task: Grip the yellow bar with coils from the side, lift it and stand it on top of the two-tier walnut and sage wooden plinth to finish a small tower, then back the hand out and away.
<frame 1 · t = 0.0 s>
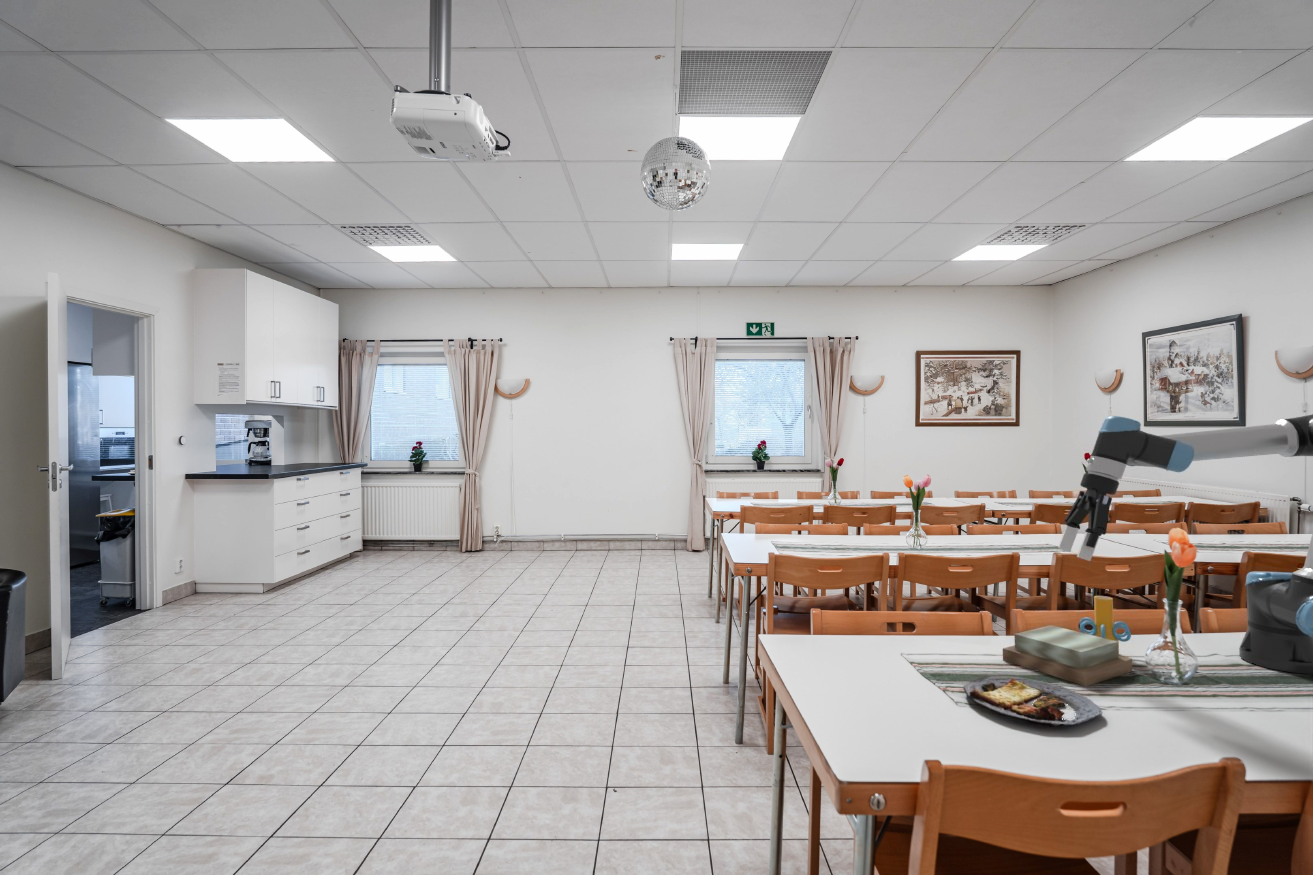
hand: (1073, 554, 153), 28 cm above the table, tool tilted 20°, fingers open, 13 cm apart
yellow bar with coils: (1104, 654, 160), on the table
food plate: (1028, 708, 128), on the table
plinth: (1065, 665, 152), on the table
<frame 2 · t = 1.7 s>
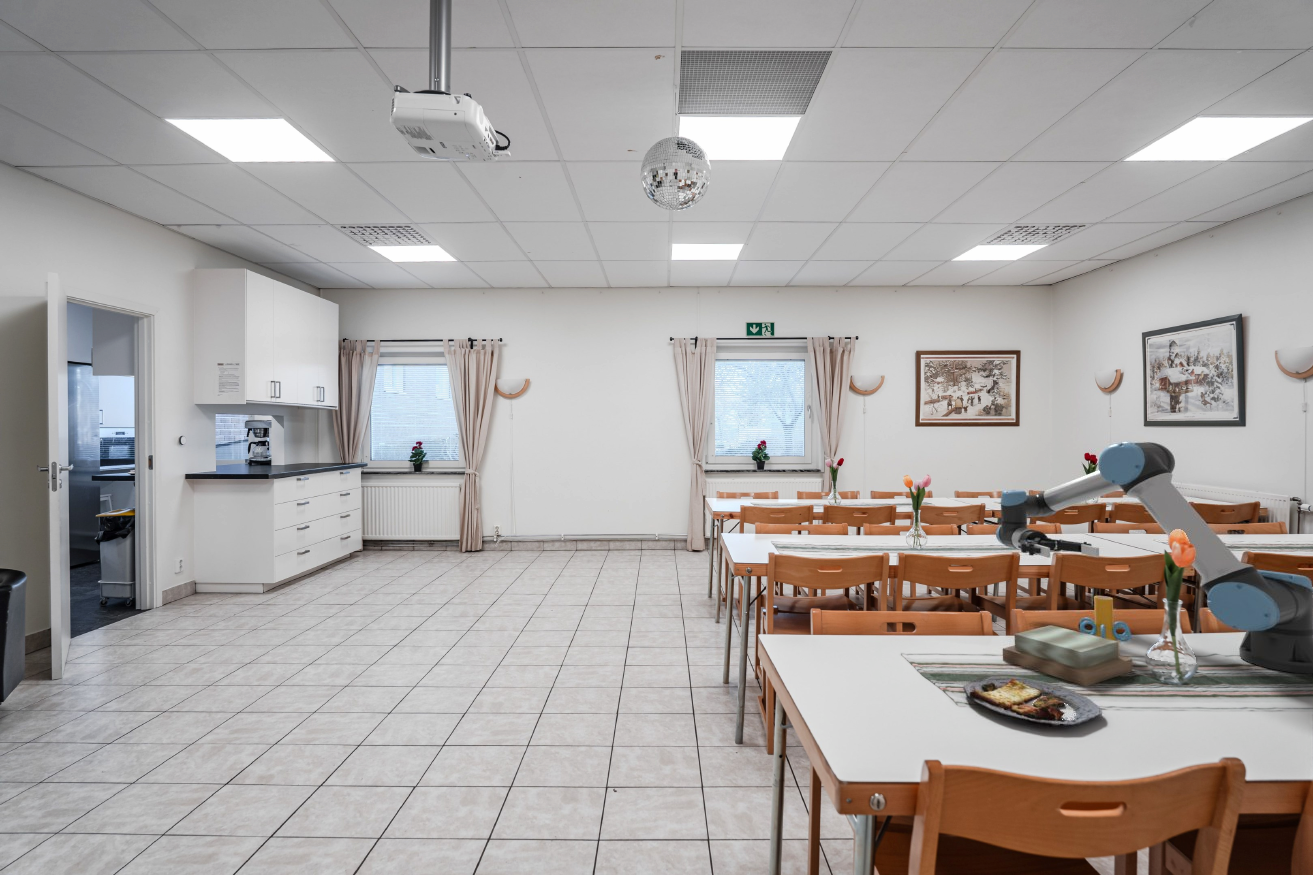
hand: (1073, 552, 171), 25 cm above the table, tool horizontal, fingers open, 13 cm apart
nothing on the table moved.
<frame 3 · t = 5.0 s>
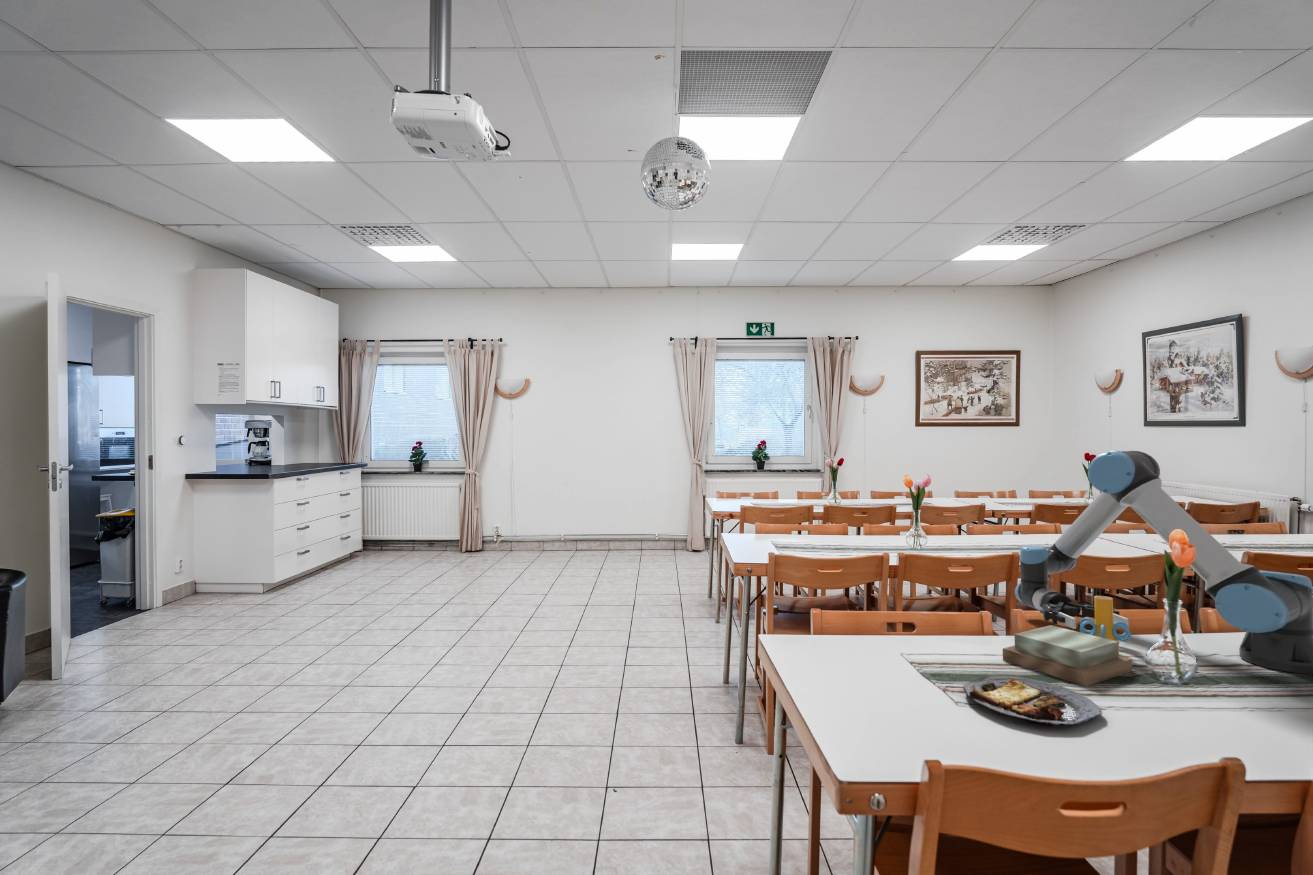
hand: (1100, 623, 160), 8 cm above the table, tool horizontal, fingers open, 13 cm apart
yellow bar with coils: (1104, 654, 160), on the table, touching gripper
everything else where it was.
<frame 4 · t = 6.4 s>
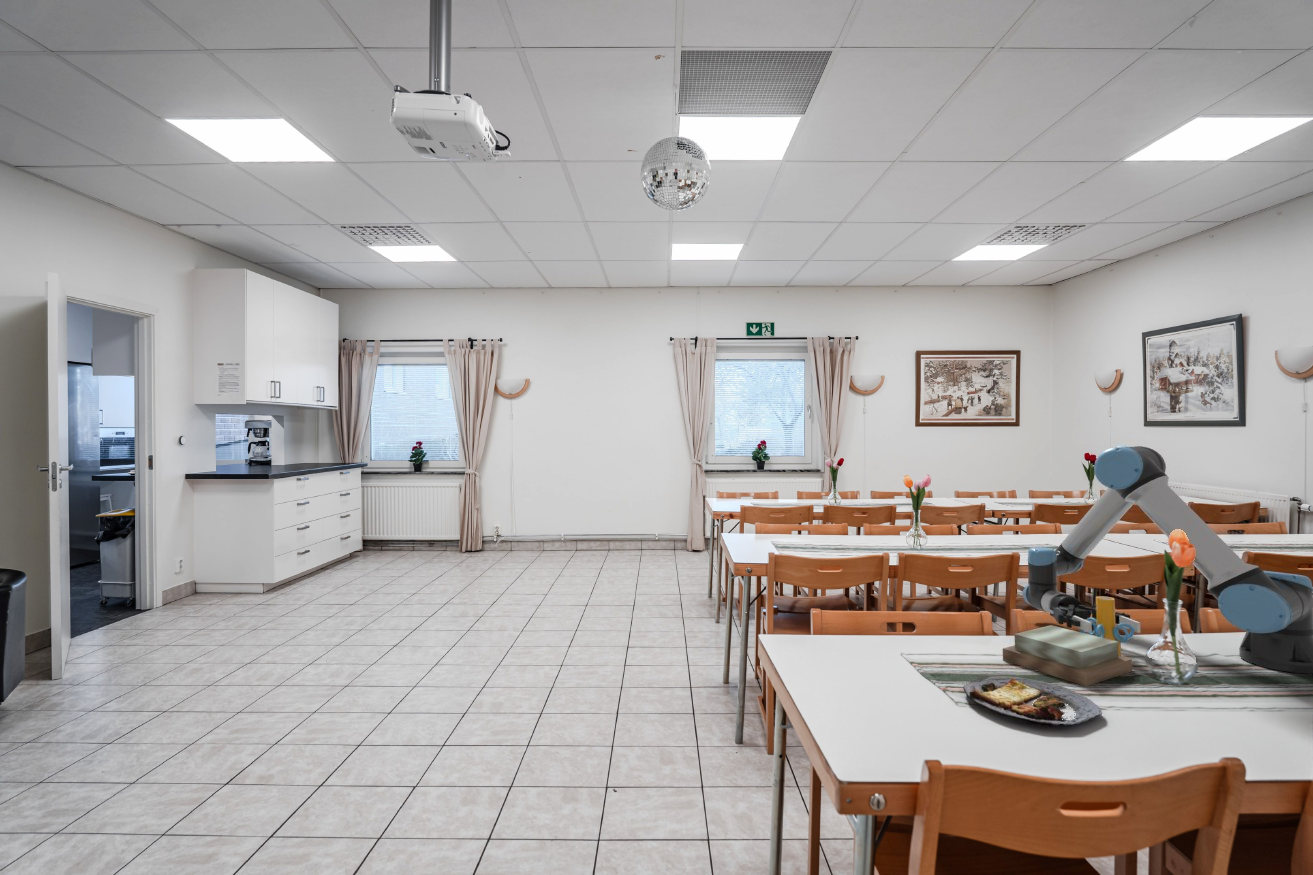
hand: (1114, 627, 156), 8 cm above the table, tool horizontal, fingers closed on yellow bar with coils, 12 cm apart
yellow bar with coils: (1107, 655, 159), on the table, touching gripper
everything else where it was.
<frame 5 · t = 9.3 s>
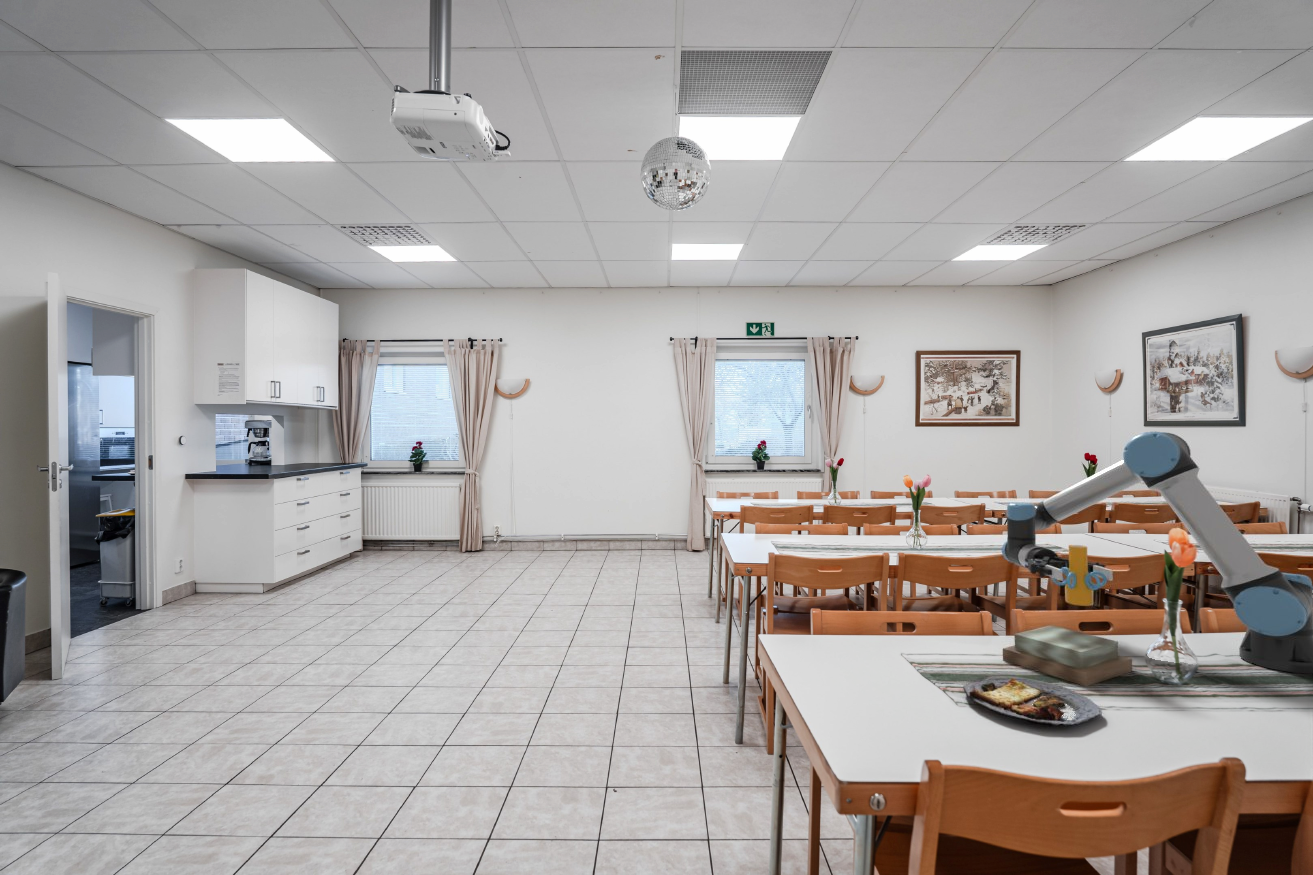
hand: (1086, 575, 154), 22 cm above the table, tool horizontal, fingers closed on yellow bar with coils, 12 cm apart
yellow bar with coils: (1079, 603, 157), point 14 cm above the table, touching gripper
everything else where it was.
when the fingers open (16 cm above the table, at t = 12.2 s): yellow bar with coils drops 1 cm, resting on plinth.
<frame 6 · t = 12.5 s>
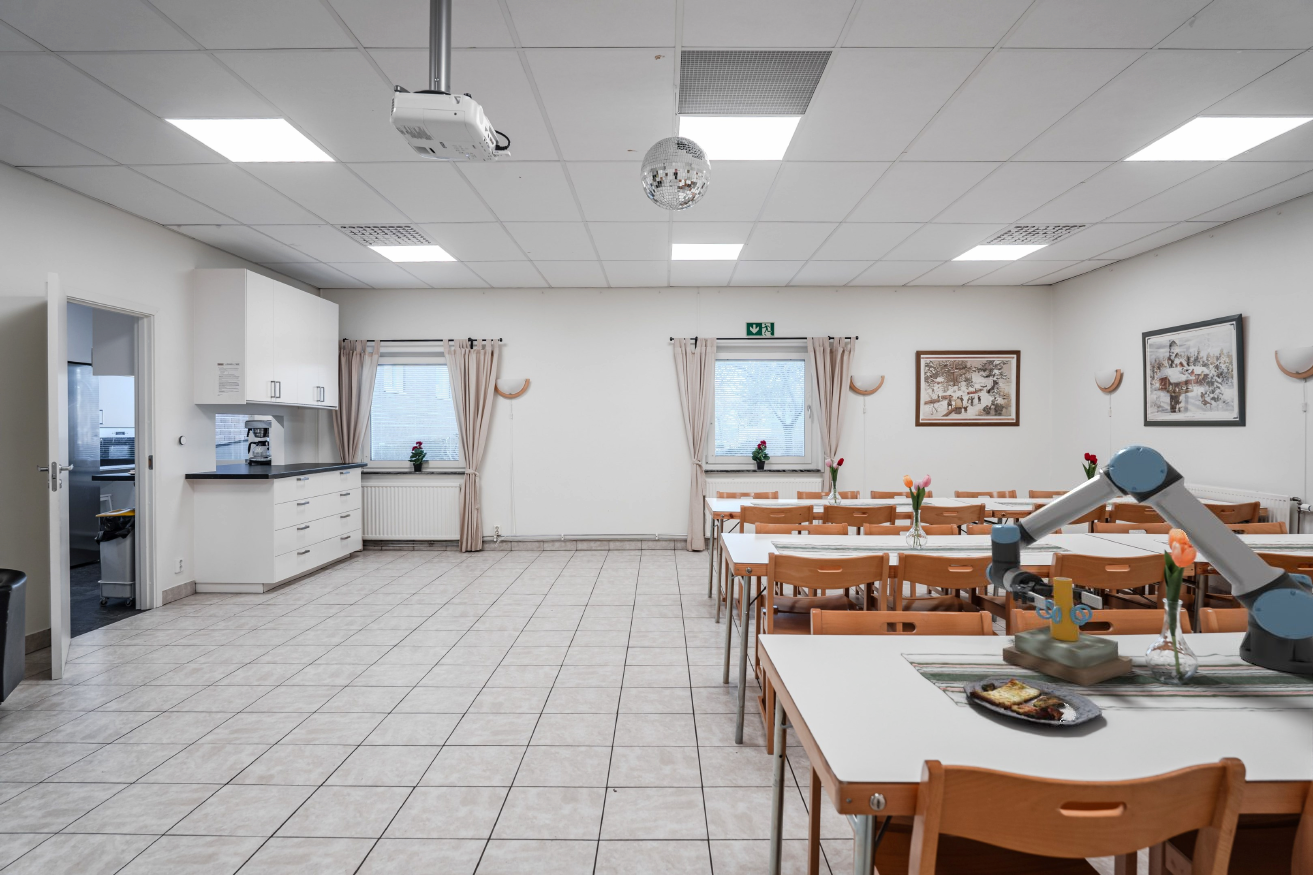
hand: (1072, 603, 149), 16 cm above the table, tool horizontal, fingers open, 13 cm apart
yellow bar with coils: (1064, 638, 151), point 7 cm above the table, touching plinth
everything else where it was.
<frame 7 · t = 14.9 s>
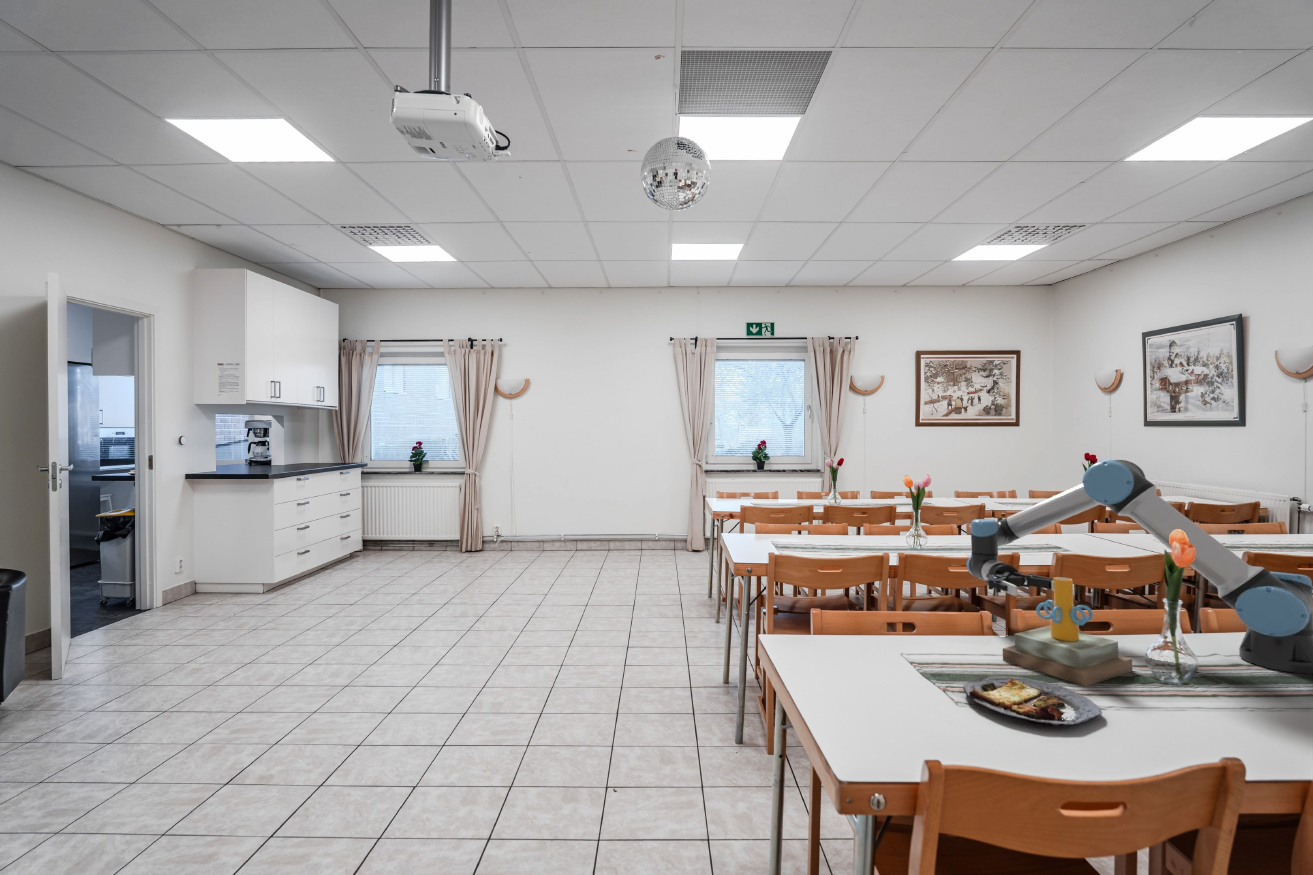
hand: (1041, 591, 162), 17 cm above the table, tool horizontal, fingers open, 13 cm apart
nothing on the table moved.
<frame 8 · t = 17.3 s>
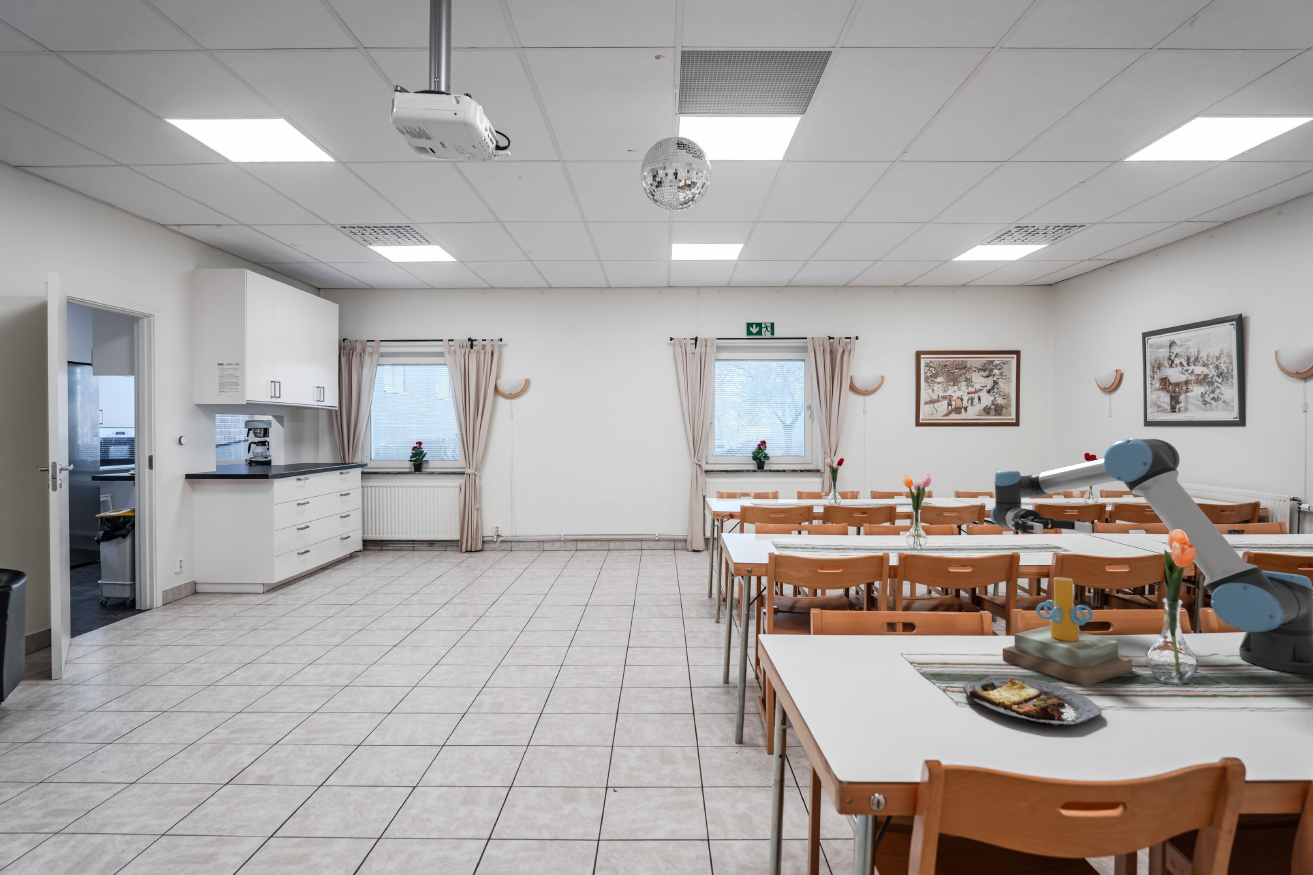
hand: (1066, 529, 171), 32 cm above the table, tool horizontal, fingers open, 13 cm apart
nothing on the table moved.
at the end: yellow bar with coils inside the target area on the plinth (0.5 cm from its centre), point 6.8 cm above the plinth's base; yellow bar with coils tilted 0°; the gripper is holding nothing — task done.
